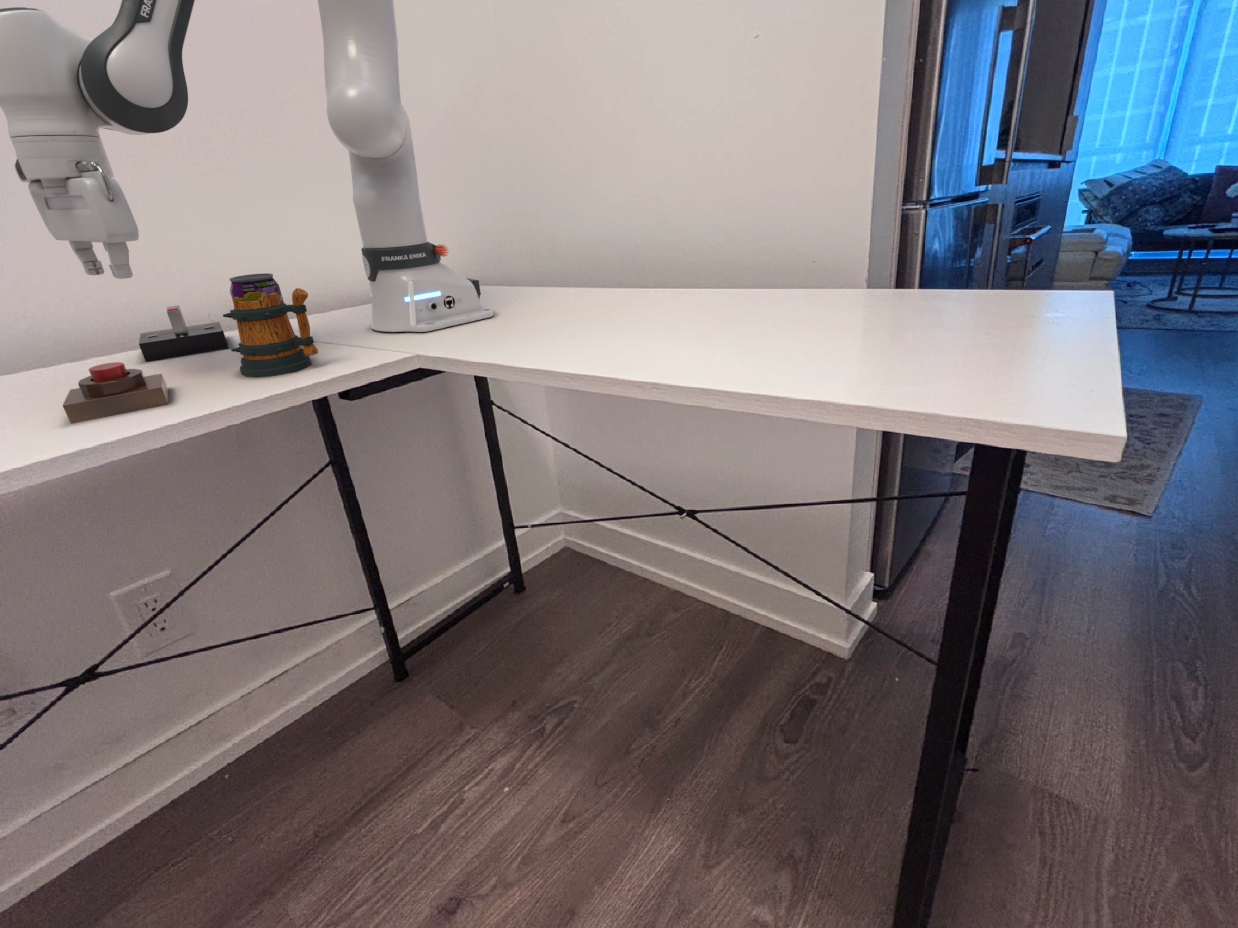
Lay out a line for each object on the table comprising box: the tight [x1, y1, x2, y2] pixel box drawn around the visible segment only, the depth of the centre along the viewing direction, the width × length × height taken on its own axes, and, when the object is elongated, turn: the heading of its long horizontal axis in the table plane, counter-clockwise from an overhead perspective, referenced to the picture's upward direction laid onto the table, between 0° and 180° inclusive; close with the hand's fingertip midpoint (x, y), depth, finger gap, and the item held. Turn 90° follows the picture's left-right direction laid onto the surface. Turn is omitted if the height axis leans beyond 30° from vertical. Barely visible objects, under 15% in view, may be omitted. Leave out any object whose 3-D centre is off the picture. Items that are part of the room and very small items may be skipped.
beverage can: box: [229, 272, 289, 317], centre depth 101 cm, size 7×7×12 cm
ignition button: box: [88, 361, 128, 382], centre depth 79 cm, size 4×4×2 cm
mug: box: [222, 287, 319, 379], centre depth 91 cm, size 13×10×12 cm
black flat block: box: [138, 321, 230, 363], centre depth 107 cm, size 12×10×3 cm
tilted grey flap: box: [166, 305, 188, 335], centre depth 106 cm, size 6×2×4 cm, turn 33°
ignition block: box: [62, 368, 169, 424], centre depth 80 cm, size 10×8×4 cm
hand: (109, 276), depth 85 cm, fingers open, 8 cm apart
